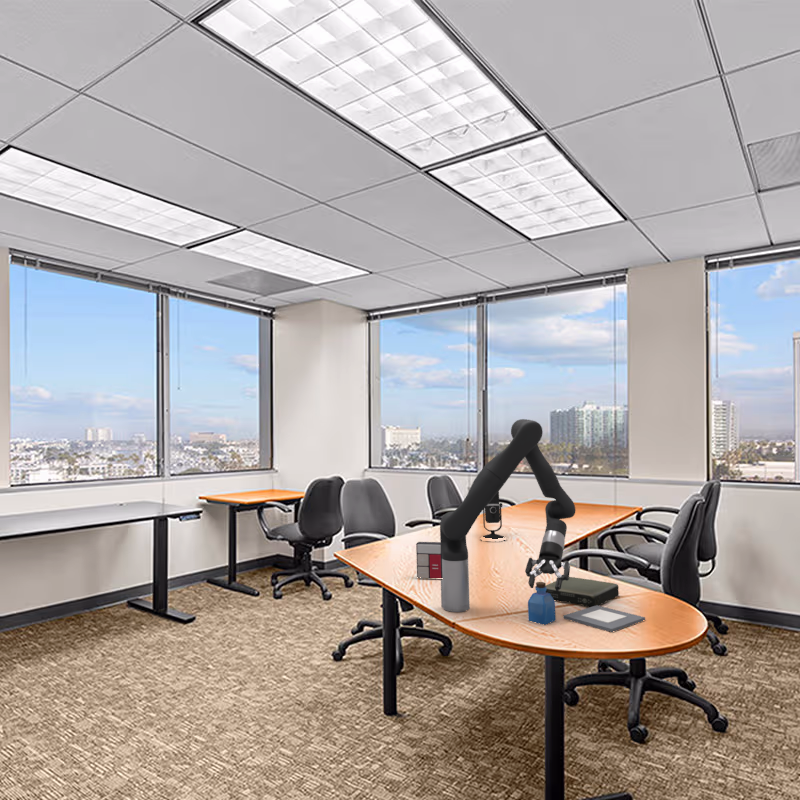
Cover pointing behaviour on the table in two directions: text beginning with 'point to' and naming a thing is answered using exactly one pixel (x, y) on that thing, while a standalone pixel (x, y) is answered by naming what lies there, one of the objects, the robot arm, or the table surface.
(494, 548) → the table surface
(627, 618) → the mat
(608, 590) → the network switch
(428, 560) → the grey and red box
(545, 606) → the perfume bottle
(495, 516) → the microphone
